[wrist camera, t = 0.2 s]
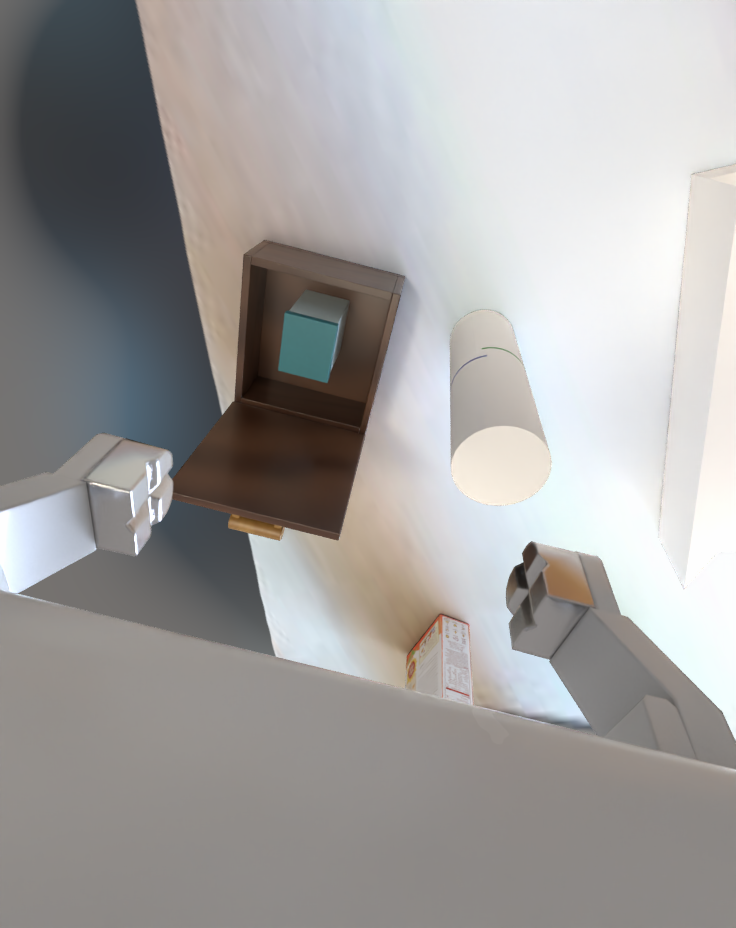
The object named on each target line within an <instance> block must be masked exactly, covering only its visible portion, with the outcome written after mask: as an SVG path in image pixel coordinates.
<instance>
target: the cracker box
mask: <svg viewBox="0 0 736 928" xmlns="http://www.w3.org/2000/svg"><path fill="white" fill-rule="evenodd" d="M405 689H409V690H413V691H417V692H421V693H426V694H430V695H434V696H438V697H442V698H446V699H450V700H454V701H458V702H462V703H467V704H471V705H474V696H473V680H472V664H471V648H470V632H469V624H466V623H463V622H461V621H458V620H455V619H452V618H450V617H447V616H444V615H442V614H440V615H439V616H438V618H437V619H436V620H435V621H434V623H433V624H432V625H431V626H430V628H429V629H428V630H427V632H426V633H425V634H424V635H423V637H422V638H421V639H420V640H419V642H418V643H417V644H416V645H415V647H414V648H413V649H412V650H411V652H410V653H409V654H408V656H407V663H406V679H405Z"/></svg>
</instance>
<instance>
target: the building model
mask: <svg viewBox="0 0 736 928" xmlns="http://www.w3.org/2000/svg"><path fill="white" fill-rule="evenodd" d="M658 538H659V540H660V542H661V544H662V546H663V548H664V550H665V552H666V554H667V556H668V558H669V560H670V562H671V564H672V566H673V568H674V570H675V572H676V574H677V576H678V578H679V580H680V583H681V585H682V587H683V589H685V588H686V587H687V586H688V585H689V584H690V583H691V582H692V580H693V579H694V578H695V577H696V576H697V575H698V574H699V573H700V572H701V570H702V569H703V568H704V567H705V566H706V565H707V564H708V563H709V562H710V560H711V559H712V558H713V557H714V556H715V555H716V554H717V553H718V552H721V551H734V550H736V164H734V165H729V166H725V167H721V168H717V169H712V170H708V171H704V172H700V173H696V174H691V185H690V196H689V207H688V217H687V228H686V239H685V250H684V261H683V272H682V283H681V294H680V305H679V316H678V327H677V337H676V348H675V359H674V370H673V381H672V392H671V403H670V414H669V425H668V436H667V446H666V457H665V468H664V479H663V490H662V501H661V512H660V523H659V534H658Z"/></svg>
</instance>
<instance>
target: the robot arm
mask: <svg viewBox="0 0 736 928" xmlns="http://www.w3.org/2000/svg"><path fill="white" fill-rule="evenodd" d="M172 466H173V456H172V453H171V452H170V451H169V450H166V449H163V448H159V447H155V446H152V445H148V444H144V443H141V442H137V441H133V440H130V439H124V438H121V437H118V436H114V435H110V434H107V433H101V434H97V435H96V436H95V437H94V438H92V439H91V440H90V441H89V442H88V443H87V444H86V445H85V446H83V447H82V448H81V449H80V450H79V451H78V452H77V453H76V454H75V455H74V456H72V457H71V458H70V459H69V460H68V461H67V462H66V463H65V464H64V465H62V466H61V467H60V468H59V469H58V470H57V471H56V472H55V473H54V474H51V473H47V472H45V473H42V474H39V475H35V476H32V477H29V478H25V479H22V480H19V481H15V482H12V483H9V484H5V485H2V486H0V928H736V741H735V739H734V737H733V735H732V732H731V730H730V728H729V726H728V724H727V721H726V719H725V717H724V715H723V713H722V711H721V710H720V709H719V708H718V707H717V706H716V705H715V704H714V703H713V702H712V701H711V700H710V699H709V698H708V697H707V696H706V695H705V694H704V693H703V692H702V691H701V690H700V689H699V688H698V687H697V686H696V685H695V684H694V683H693V682H692V681H691V680H690V679H689V678H688V677H687V676H686V675H685V674H684V673H683V672H682V671H681V670H680V669H679V668H678V667H677V666H676V665H675V664H674V663H673V662H672V661H671V660H670V659H669V658H668V657H667V656H666V655H665V654H664V653H663V652H662V651H661V650H660V649H659V648H658V647H657V646H656V645H655V644H654V643H653V642H652V641H651V640H650V639H649V638H648V637H647V636H646V635H645V634H644V633H643V632H642V631H641V630H640V629H639V628H638V627H637V626H636V625H635V624H634V623H633V622H632V621H631V620H630V619H629V618H628V617H626V616H622V615H621V613H620V611H619V608H618V605H617V602H616V599H615V596H614V594H613V591H612V588H611V585H610V582H609V580H608V577H607V574H606V571H605V568H604V566H603V563H602V560H601V559H600V558H599V557H598V556H594V555H589V554H585V553H580V552H573V551H569V550H565V549H561V548H557V547H553V546H549V545H545V544H541V543H537V542H533V541H531V542H530V543H529V544H528V545H527V546H526V548H525V549H524V551H523V553H522V555H523V561H524V562H523V563H521V564H519V565H517V566H515V567H514V569H513V571H512V573H511V575H510V577H509V580H508V584H507V588H506V604H507V608H508V609H509V610H510V612H511V613H512V614H513V617H512V619H511V621H510V622H509V629H510V636H511V644H512V649H513V650H517V651H520V652H524V653H527V654H531V655H535V656H538V657H542V658H546V659H549V660H550V661H549V662H550V663H551V665H552V666H553V668H554V670H555V671H556V673H557V674H558V676H559V677H560V679H561V680H562V682H563V684H564V685H565V687H566V688H567V690H568V691H569V693H570V694H571V696H572V698H573V699H574V701H575V702H576V704H577V705H578V707H579V708H580V710H581V712H582V713H583V715H584V716H585V718H586V719H587V721H588V722H589V724H590V726H591V727H592V729H593V730H594V732H595V733H596V735H593V734H589V733H585V732H581V731H577V730H573V729H569V728H565V727H561V726H556V725H552V724H548V723H544V722H540V721H536V720H532V719H528V718H524V717H520V716H516V715H511V714H507V713H503V712H499V711H495V710H491V709H487V708H483V707H479V706H475V705H471V704H467V703H462V702H458V701H454V700H450V699H446V698H442V697H438V696H434V695H430V694H426V693H421V692H417V691H413V690H409V689H405V688H401V687H397V686H393V685H389V684H385V683H381V682H376V681H372V680H368V679H364V678H360V677H356V676H352V675H348V674H344V673H340V672H336V671H331V670H327V669H323V668H319V667H315V666H311V665H307V664H303V663H299V662H295V661H291V660H286V659H282V658H278V657H274V656H270V655H266V654H262V653H257V652H254V651H250V650H245V649H241V648H237V647H233V646H229V645H225V644H221V643H216V642H213V641H209V640H204V639H200V638H196V637H192V636H188V635H184V634H179V633H176V632H172V631H167V630H163V629H159V628H155V627H151V626H147V625H143V624H139V623H135V622H131V621H126V620H123V619H118V618H114V617H110V616H106V615H102V614H98V613H94V612H90V611H86V610H81V609H78V608H73V607H69V606H65V605H61V604H57V603H53V602H49V601H44V600H41V599H37V598H32V597H28V596H24V595H20V594H17V593H19V592H21V591H23V590H24V589H26V588H28V587H30V586H32V585H33V584H35V583H37V582H39V581H41V580H43V579H44V578H46V577H48V576H50V575H52V574H53V573H55V572H57V571H59V570H61V569H62V568H64V567H66V566H68V565H70V564H72V563H73V562H75V561H77V560H79V559H81V558H83V557H84V556H86V555H88V554H90V553H92V552H93V551H95V550H96V548H100V549H104V550H109V551H113V552H118V553H123V554H127V555H131V556H137V554H138V553H139V552H140V550H141V549H142V547H143V546H144V545H145V543H146V542H147V540H148V539H149V537H150V536H151V525H153V524H155V523H158V522H160V521H161V520H162V519H163V517H164V516H165V514H166V513H167V511H168V509H169V506H170V503H171V501H172V496H173V480H172V479H171V478H170V476H169V475H168V472H169V471H170V469H171V467H172Z"/></svg>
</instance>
